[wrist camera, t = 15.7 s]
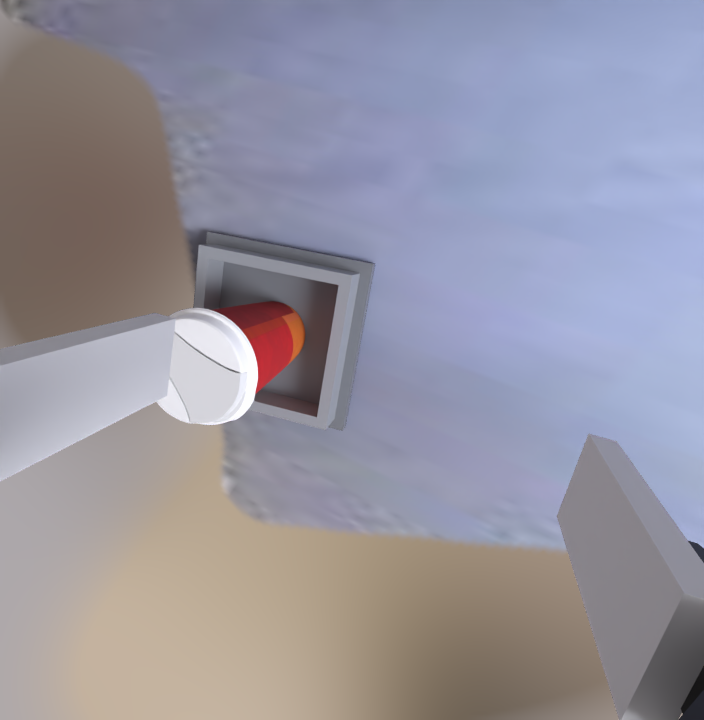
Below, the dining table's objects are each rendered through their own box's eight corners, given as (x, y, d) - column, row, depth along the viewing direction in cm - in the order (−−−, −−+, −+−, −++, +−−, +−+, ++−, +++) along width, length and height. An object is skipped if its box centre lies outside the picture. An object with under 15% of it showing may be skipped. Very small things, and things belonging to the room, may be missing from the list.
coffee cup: (219, 328, 48) (113, 366, 34) (274, 270, 45) (185, 283, 31) (277, 392, 48) (196, 456, 34) (336, 337, 45) (275, 382, 31)
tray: (212, 231, 47) (189, 231, 43) (375, 263, 44) (366, 265, 40) (197, 389, 51) (175, 400, 47) (345, 427, 48) (334, 443, 44)
